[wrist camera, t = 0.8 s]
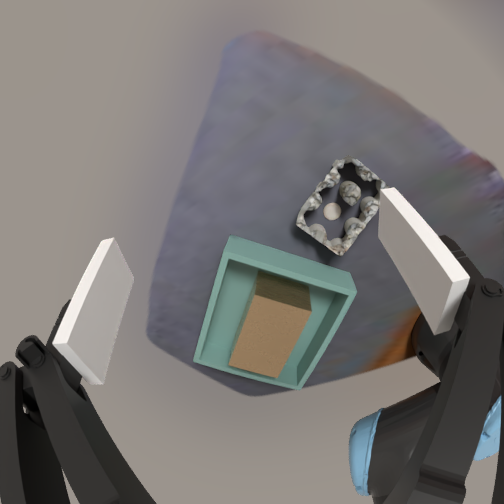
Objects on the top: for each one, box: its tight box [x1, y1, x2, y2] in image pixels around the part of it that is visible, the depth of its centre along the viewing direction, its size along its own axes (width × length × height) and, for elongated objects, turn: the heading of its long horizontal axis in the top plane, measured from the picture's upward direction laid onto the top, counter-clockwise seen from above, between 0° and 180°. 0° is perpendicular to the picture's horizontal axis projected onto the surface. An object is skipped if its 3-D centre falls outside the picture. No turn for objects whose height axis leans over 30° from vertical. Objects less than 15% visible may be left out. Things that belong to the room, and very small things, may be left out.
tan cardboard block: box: [228, 271, 312, 378], centre depth 41 cm, size 7×12×6 cm, turn 163°
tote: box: [193, 235, 357, 390], centre depth 42 cm, size 17×19×5 cm
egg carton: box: [296, 155, 390, 257], centre depth 36 cm, size 11×8×4 cm
